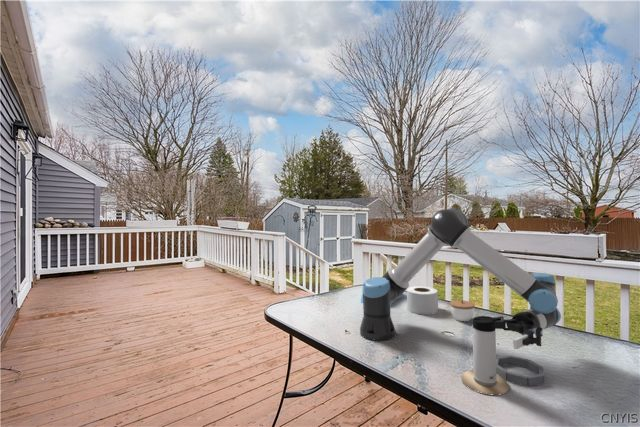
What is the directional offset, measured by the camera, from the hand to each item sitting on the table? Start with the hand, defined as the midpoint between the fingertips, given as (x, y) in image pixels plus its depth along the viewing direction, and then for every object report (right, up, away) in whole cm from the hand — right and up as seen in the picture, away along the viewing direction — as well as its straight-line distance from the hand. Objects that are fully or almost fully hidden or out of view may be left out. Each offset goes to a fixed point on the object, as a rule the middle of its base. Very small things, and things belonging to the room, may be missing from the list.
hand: (492, 336), depth 99 cm
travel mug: (-3, -13, -2) cm, 14 cm away
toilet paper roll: (0, -12, +67) cm, 68 cm away
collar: (+10, -13, +3) cm, 17 cm away
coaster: (-3, -14, -1) cm, 14 cm away
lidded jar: (+14, -12, +52) cm, 55 cm away
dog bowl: (-17, -13, +90) cm, 92 cm away
